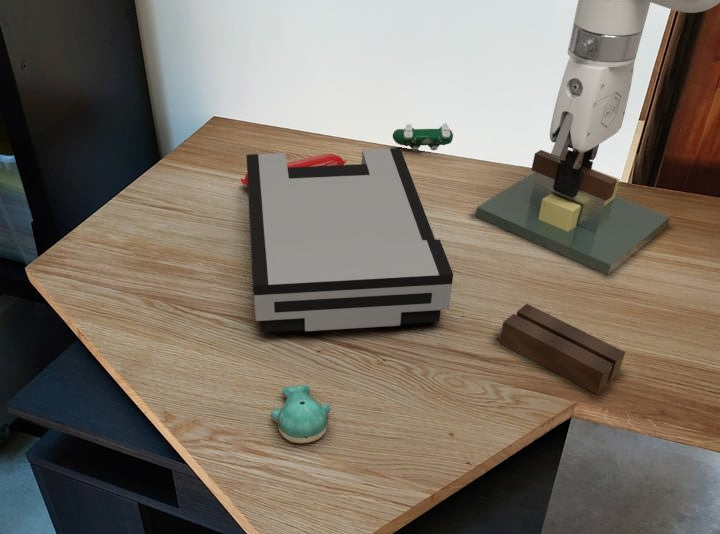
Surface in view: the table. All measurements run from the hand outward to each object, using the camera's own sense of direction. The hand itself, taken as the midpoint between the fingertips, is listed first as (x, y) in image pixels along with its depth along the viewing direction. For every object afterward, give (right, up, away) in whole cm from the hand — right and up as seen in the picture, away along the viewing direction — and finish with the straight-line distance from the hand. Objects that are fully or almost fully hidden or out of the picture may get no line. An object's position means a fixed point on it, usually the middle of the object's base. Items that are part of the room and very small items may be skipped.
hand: (569, 189), depth 100 cm
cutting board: (+2, -3, +5) cm, 6 cm away
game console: (-30, -10, -2) cm, 32 cm away
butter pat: (-1, -4, +2) cm, 4 cm away
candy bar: (-36, +7, +11) cm, 38 cm away
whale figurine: (-33, -29, -23) cm, 50 cm away
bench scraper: (0, -3, +3) cm, 4 cm away
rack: (-6, -22, -16) cm, 28 cm away
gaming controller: (-16, +12, +21) cm, 29 cm away
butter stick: (+3, -1, +6) cm, 7 cm away
